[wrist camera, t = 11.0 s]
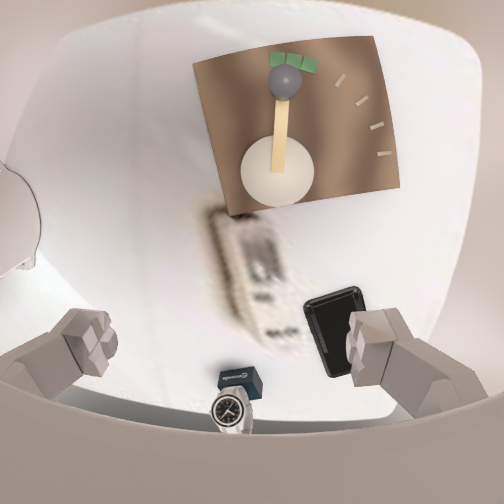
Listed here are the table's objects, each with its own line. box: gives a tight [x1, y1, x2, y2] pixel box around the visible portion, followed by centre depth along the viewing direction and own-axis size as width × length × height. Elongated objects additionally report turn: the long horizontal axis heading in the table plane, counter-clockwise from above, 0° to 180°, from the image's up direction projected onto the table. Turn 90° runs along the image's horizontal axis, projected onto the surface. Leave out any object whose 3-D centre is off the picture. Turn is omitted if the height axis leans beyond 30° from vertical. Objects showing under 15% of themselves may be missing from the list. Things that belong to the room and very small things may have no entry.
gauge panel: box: [193, 36, 400, 216], centre depth 28 cm, size 19×17×2 cm
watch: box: [209, 366, 263, 434], centre depth 39 cm, size 6×8×11 cm
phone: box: [304, 286, 366, 378], centre depth 39 cm, size 8×1×15 cm
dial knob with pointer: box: [241, 64, 314, 207], centre depth 24 cm, size 14×7×8 cm, turn 177°
